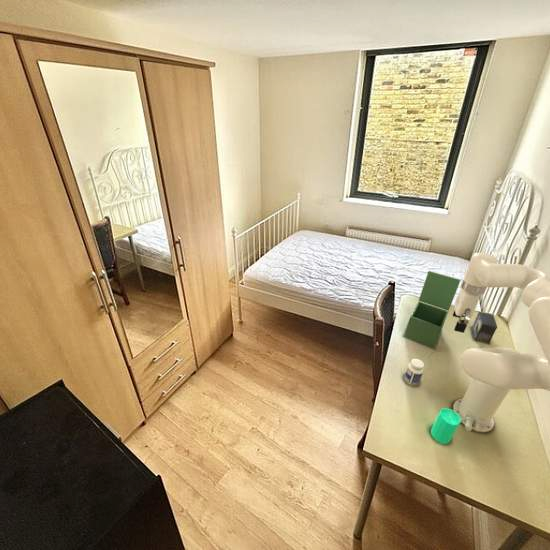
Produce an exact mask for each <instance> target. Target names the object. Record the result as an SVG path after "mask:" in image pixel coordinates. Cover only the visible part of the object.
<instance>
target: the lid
mask: <svg viewBox="0 0 550 550" xmlns="http://www.w3.org/2000/svg"><path fill="white" fill-rule="evenodd" d="M461 282H462V280H461V279H459V278H455V277H452V276H449V275H445V274H442V273H439V272H436V271H431V270H428V272H427V274H426V278H425V280H424V283H423V286H422V289H421V292H420V295H419V298H418V301H419V302H422V303H425V304H428V305H431V306H434V307H437V308H440V309H443V310H446V311H448V312H449V311H450V309H451V307H452V303H453V301H454V299H455V296H456V294H457V291H458V288H459V286H460V283H461Z"/></svg>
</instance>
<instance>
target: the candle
mask: <svg viewBox="0 0 550 550" xmlns="http://www.w3.org/2000/svg"><path fill="white" fill-rule="evenodd" d="M461 423H462V422H461V419H460V417H459V415H458V414H457V413H456V412H455V411H454V410H453V409H450V408H445V407H443V408H441V409H440V410H439V413H438V414H437V416H436V418H435V421H434V422H433V425H432V426H431V428H430V434H431V436H432V438H433V439H434V440H435V441H436V442H437V443H440V444H443V445H447V444H449V443H450V442H451V440H452V439H453V437H454V435H455V433H456V432H457V429H458V428H459V426H460V424H461Z"/></svg>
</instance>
